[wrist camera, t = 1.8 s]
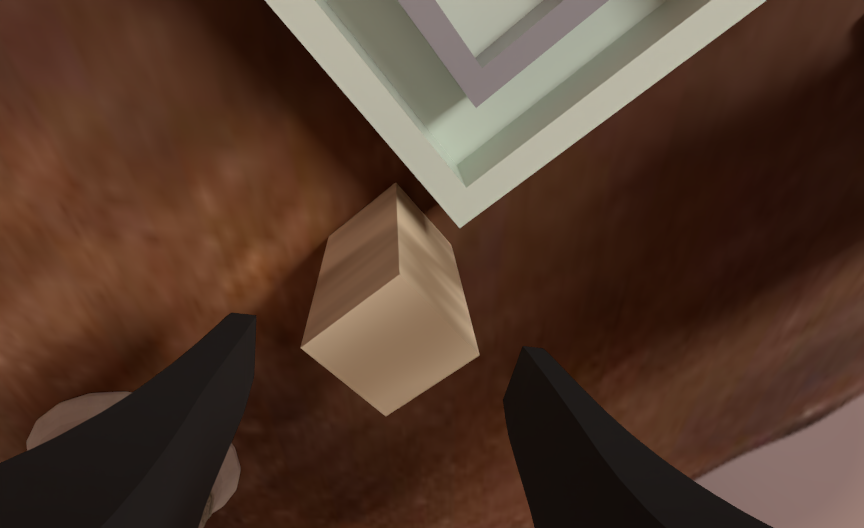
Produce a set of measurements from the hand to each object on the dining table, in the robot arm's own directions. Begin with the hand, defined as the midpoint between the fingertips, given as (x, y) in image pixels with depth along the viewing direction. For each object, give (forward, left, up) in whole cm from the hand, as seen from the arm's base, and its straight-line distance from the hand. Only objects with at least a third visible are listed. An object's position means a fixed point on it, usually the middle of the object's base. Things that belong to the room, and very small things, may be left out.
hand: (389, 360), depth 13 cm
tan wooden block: (0, 0, -7) cm, 7 cm away
